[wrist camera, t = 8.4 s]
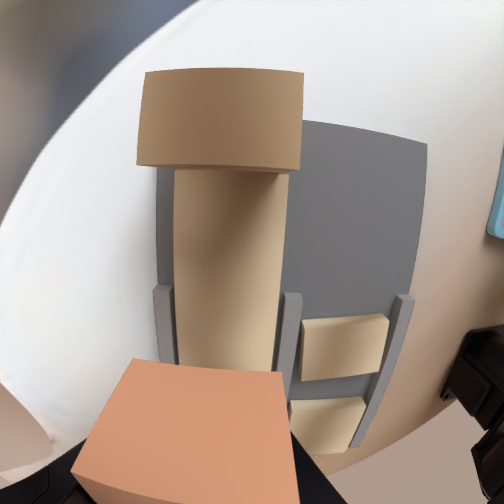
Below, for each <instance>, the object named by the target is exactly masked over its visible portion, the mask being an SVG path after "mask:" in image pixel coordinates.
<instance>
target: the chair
mask: <svg viewBox="0 0 504 504" xmlns="http://www.w3.org/2000/svg"><path fill="white" fill-rule="evenodd" d="M503 217H504V150H503V157H502V163H501V169H500V174H499V179H498V184H497V189H496V193H495V197H494V201H493V205H492V209H491V213H490V216H489V220H488V223H487V233H488V234H490V235H492V236H494V237H497V238H501V239H504V226H502V220H503Z"/></svg>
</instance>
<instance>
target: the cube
mask: <svg viewBox="0 0 504 504" xmlns="http://www.w3.org/2000/svg"><path fill="white" fill-rule="evenodd" d="M71 473H72V474H73V475H74V477H75V478H76V479H77V481H78V482H79V483H80V484H81V486H82V487H83V488H84V489H85V490H86V492H87V493H88V494H89V495H90V496H91V497H92V499H93V500H94V501H95V502H96V503H97V504H300V501H299V493H298V486H297V478H296V471H295V463H294V456H293V448H292V441H291V434H290V427H289V420H288V412H287V405H286V398H285V391H284V384H283V378H282V372H269V371H242V370H226V369H213V368H201V367H192V366H182V365H174V364H166V363H159V362H152V361H146V360H140V359H134V358H133V359H132V361H131V363H130V364H129V366H128V368H127V369H126V371H125V373H124V374H123V376H122V378H121V379H120V381H119V383H118V385H117V386H116V388H115V390H114V391H113V393H112V395H111V397H110V398H109V400H108V402H107V404H106V405H105V407H104V409H103V411H102V413H101V414H100V416H99V418H98V420H97V422H96V423H95V425H94V427H93V429H92V431H91V433H90V434H89V436H88V438H87V440H86V442H85V444H84V446H83V447H82V449H81V451H80V453H79V455H78V457H77V459H76V461H75V463H74V465H73V467H72V469H71Z"/></svg>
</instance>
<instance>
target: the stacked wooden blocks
mask: <svg viewBox="0 0 504 504" xmlns="http://www.w3.org/2000/svg"><path fill="white" fill-rule="evenodd" d="M303 83H304V73H300V72H292V71H282V70H270V69H254V68H190V69H174V70H163V71H153V72H145V79H144V86H143V94H142V102H141V111H140V121H139V132H138V146H137V163H136V165H141V166H151V167H161V168H170V169H179V170H175V179H174V220H173V247H174V288H175V310H176V326H177V340H178V353H179V364H180V365H182V366H192V367H201V368H213V369H226V370H242V371H269V372H271V366H272V358H273V349H274V340H275V331H276V322H277V312H278V302H279V292H280V282H281V271H282V260H283V248H284V236H285V224H286V210H287V197H288V182H289V175H285V174H281V173H286V172H291V171H296V170H300V155H301V136H302V114H303Z"/></svg>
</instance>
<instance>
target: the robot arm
mask: <svg viewBox="0 0 504 504" xmlns="http://www.w3.org/2000/svg"><path fill="white" fill-rule="evenodd" d="M455 397H456V398H457V399H458V400H459V401H460V403H461V404H462V405H463V407H464V408H465V409H466V411H467V412H468V413H469V414H470V416H472V417H473V416H474V418H475V419H476V420H477V422H478V423H479V424H480V426H481V427H482V428H483V430H484V431H486V430H488V429H489V430H488V431H487V432H486V434H485V435H484V436H483V437H482V438H481V440H480V441H479V442H478V443H477V444H475V445H474V446H473V447H472V449H471V452H472V456H473V459H474V463H475V467H476V470H477V474H478V478H479V482H480V487H481V490H482V493H483V495H484V496H485V497H486V498H487V499H488V500H489V501H488V502H487V504H504V325H499V326H494V327H488V328H482V329H476V330H471V331H470V332H468V334H467V335H466V338H465V340H464V343H463V345H462V348H461V350H460V353H459V355H458V358H457V360H456V362H455V365H454V367H453V369H452V371H451V374H450V376H449V378H448V380H447V382H446V384H445V386H444V388H443V390H442V392H441V394H440V398H441V399H442V400H443V401H445V400H449V399H452V398H455ZM290 434H291V441H292V448H293V456H294V463H295V471H296V478H297V486H298V493H299V501H300V504H347V503H346V502H345V500H344V499H343V498H342V497H341V495H340V494H339V493H338V492H337V491H336V489H335V488H334V487H333V486H332V484H331V483H330V482H329V481H328V479H327V478H326V477H325V475H324V474H323V473H322V472H321V470H320V469H319V468H318V466H317V465H316V464H315V463H314V461H313V460H312V459H311V457H310V456H309V455H308V453H307V452H306V451H305V449H304V448H303V447H302V445H301V444H300V442H299V441H298V440H297V438H296V437H295V436H294V434H293V433H292V432H291V431H290ZM87 438H88V437H87ZM87 438H86V439H85V440H83V441H82V442H80V443H79V444H78V445H76V446H75V447H73V448H72V449H70V450H69V451H67V452H66V453H65V454H63V455H62V456H60V457H59V458H57V459H56V460H54V461H53V462H51V463H50V464H48V466H45V467H43V468H42V469H40V470H39V471H37V472H35V473H34V474H32V475H30V476H29V477H27V478H25V479H23V480H21V481H19V482H16V483H14V484H12V485H10V486H7V487H5V488H3V489H0V504H97V503H96V502H95V501H94V500H93V499H92V497H91V496H90V495H89V494H88V493H87V492H86V490H85V489H84V488H83V487H82V486H81V484H80V483H79V482H78V481H77V479H76V478H75V477H74V475H73V474H72V473H71V469H72V467H73V465H74V463H75V461H76V459H77V457H78V455H79V453H80V451H81V449H82V447H83V446H84V444H85V442H86V440H87Z"/></svg>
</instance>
